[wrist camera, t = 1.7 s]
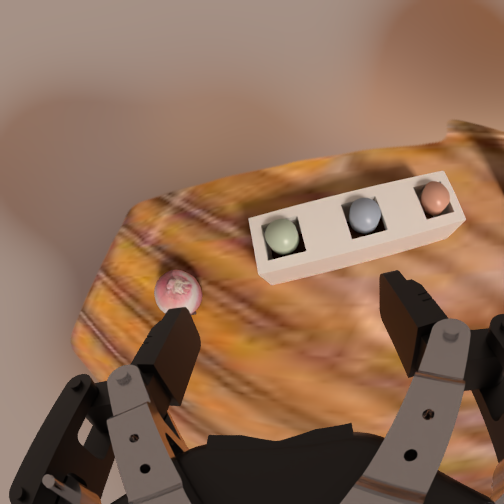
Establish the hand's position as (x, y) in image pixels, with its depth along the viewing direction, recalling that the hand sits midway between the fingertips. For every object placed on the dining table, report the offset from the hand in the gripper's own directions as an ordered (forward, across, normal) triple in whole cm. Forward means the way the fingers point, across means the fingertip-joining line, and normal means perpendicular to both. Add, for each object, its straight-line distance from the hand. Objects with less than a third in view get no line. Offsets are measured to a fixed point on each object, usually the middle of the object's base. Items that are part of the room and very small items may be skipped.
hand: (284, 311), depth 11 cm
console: (+30, -11, +10) cm, 34 cm away
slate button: (+25, -10, +5) cm, 28 cm away
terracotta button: (+25, -21, +4) cm, 33 cm away
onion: (+29, +19, +14) cm, 37 cm away
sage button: (+25, +1, +6) cm, 26 cm away
